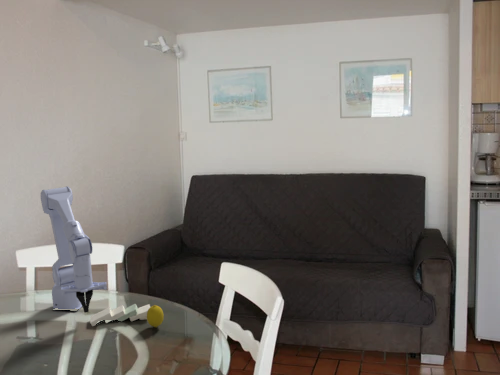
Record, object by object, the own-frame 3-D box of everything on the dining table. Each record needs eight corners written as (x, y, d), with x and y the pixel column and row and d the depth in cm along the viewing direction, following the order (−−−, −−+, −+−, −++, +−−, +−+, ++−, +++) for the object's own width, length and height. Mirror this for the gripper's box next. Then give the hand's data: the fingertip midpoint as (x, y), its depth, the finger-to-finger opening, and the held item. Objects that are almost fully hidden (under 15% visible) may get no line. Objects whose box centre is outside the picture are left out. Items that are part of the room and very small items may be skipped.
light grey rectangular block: (90, 322, 179) (109, 312, 180) (90, 316, 183) (109, 306, 184) (92, 326, 179) (111, 316, 180) (92, 320, 184) (111, 310, 185)
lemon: (148, 324, 180) (146, 302, 178) (164, 323, 181) (163, 301, 179) (146, 331, 175) (145, 309, 173) (163, 330, 175) (162, 308, 173)
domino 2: (103, 320, 180) (122, 310, 181) (104, 314, 185) (122, 304, 186) (106, 324, 180) (125, 314, 181) (106, 317, 185) (124, 308, 186)
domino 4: (129, 317, 182) (148, 310, 182) (130, 310, 187) (149, 303, 187) (131, 321, 182) (150, 314, 183) (131, 314, 187) (150, 307, 187)
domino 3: (116, 318, 181) (135, 309, 182) (117, 312, 186) (135, 303, 186) (118, 322, 181) (137, 313, 182) (119, 316, 186) (137, 307, 187)
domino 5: (139, 317, 183) (160, 314, 185) (139, 311, 188) (159, 308, 189) (140, 321, 183) (160, 319, 185) (139, 315, 188) (159, 312, 190)
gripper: (59, 280, 171) (63, 319, 174) (105, 275, 175) (108, 313, 178) (60, 272, 178) (64, 310, 181) (105, 267, 182) (108, 304, 185)
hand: (86, 311), depth 180 cm, fingers closed
